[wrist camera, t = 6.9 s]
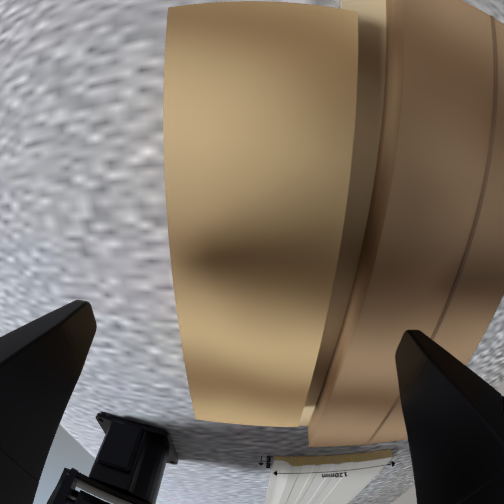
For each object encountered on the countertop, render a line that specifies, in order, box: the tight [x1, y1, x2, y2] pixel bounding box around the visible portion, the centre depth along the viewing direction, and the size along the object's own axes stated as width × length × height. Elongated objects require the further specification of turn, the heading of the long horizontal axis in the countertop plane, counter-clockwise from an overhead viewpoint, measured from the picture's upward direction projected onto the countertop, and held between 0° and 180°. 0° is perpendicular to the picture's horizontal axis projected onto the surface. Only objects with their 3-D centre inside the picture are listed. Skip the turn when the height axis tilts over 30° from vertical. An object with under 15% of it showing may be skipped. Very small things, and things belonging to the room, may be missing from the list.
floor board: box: [298, 0, 504, 447], centre depth 11 cm, size 22×8×3 cm, turn 177°
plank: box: [164, 1, 358, 427], centre depth 11 cm, size 18×6×3 cm, turn 178°
